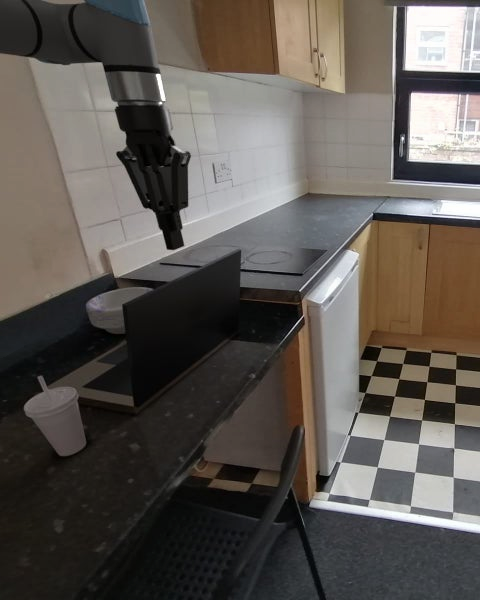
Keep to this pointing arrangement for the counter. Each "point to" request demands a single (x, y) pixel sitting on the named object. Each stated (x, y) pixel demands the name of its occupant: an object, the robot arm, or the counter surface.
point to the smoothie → (58, 418)
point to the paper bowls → (112, 308)
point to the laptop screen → (180, 323)
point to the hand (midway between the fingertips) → (175, 247)
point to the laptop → (113, 380)
